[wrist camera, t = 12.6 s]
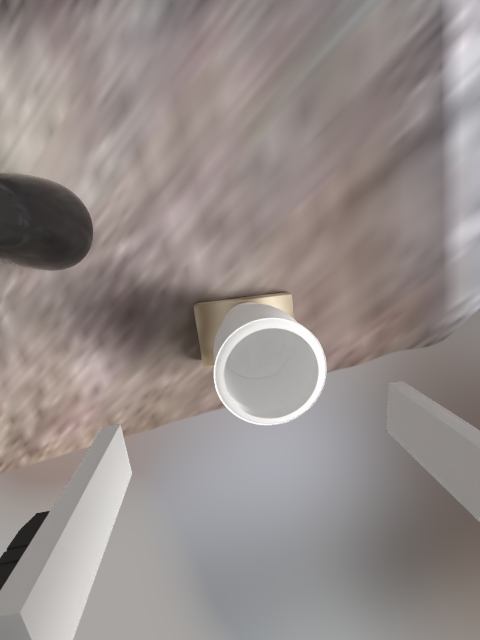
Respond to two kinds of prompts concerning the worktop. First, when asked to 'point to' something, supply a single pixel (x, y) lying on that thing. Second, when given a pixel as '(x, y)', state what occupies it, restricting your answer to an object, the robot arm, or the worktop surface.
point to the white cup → (267, 364)
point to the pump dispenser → (42, 223)
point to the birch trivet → (215, 311)
